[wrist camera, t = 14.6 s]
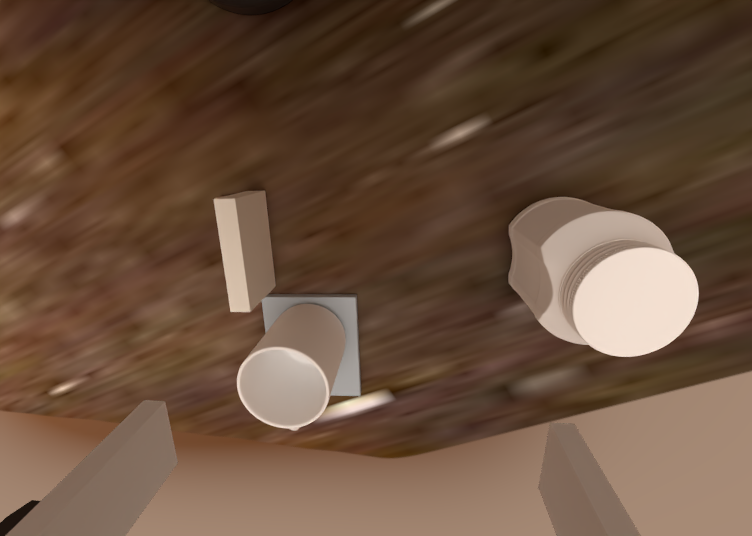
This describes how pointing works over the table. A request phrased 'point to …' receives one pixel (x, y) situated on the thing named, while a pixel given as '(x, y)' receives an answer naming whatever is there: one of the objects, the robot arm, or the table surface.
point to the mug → (293, 367)
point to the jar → (600, 276)
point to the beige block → (245, 248)
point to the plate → (348, 316)
